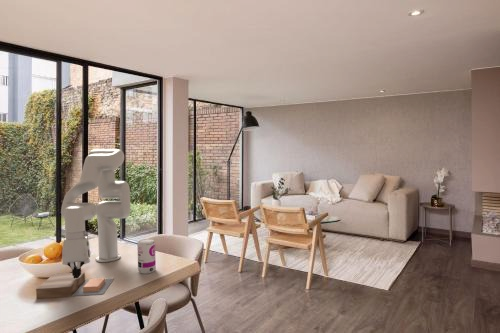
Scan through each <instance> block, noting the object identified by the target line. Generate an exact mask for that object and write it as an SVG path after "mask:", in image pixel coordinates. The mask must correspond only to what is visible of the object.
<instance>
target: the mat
mask: <svg viewBox="0 0 500 333" xmlns="http://www.w3.org/2000/svg"><path fill="white" fill-rule="evenodd" d="M114 279H115V278H105V283H104V284H103V286H102V287H101V288H100V289H99V291H88V292H83V287H84V286H85V284H86V283H87V282H88V281H89V280H90V279H85V281H84V282H83V284H82V285H81V286H80V287H79V288H78V289H77V290H76V291H75V292H74V294H73V295H72V296H71V297H83V296H84V297H85V296H95V295H97V296H98V295H104V294H105V293H106V291H107V289H109V287H110V286H111V284H112V283H113V281H114Z"/></svg>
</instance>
